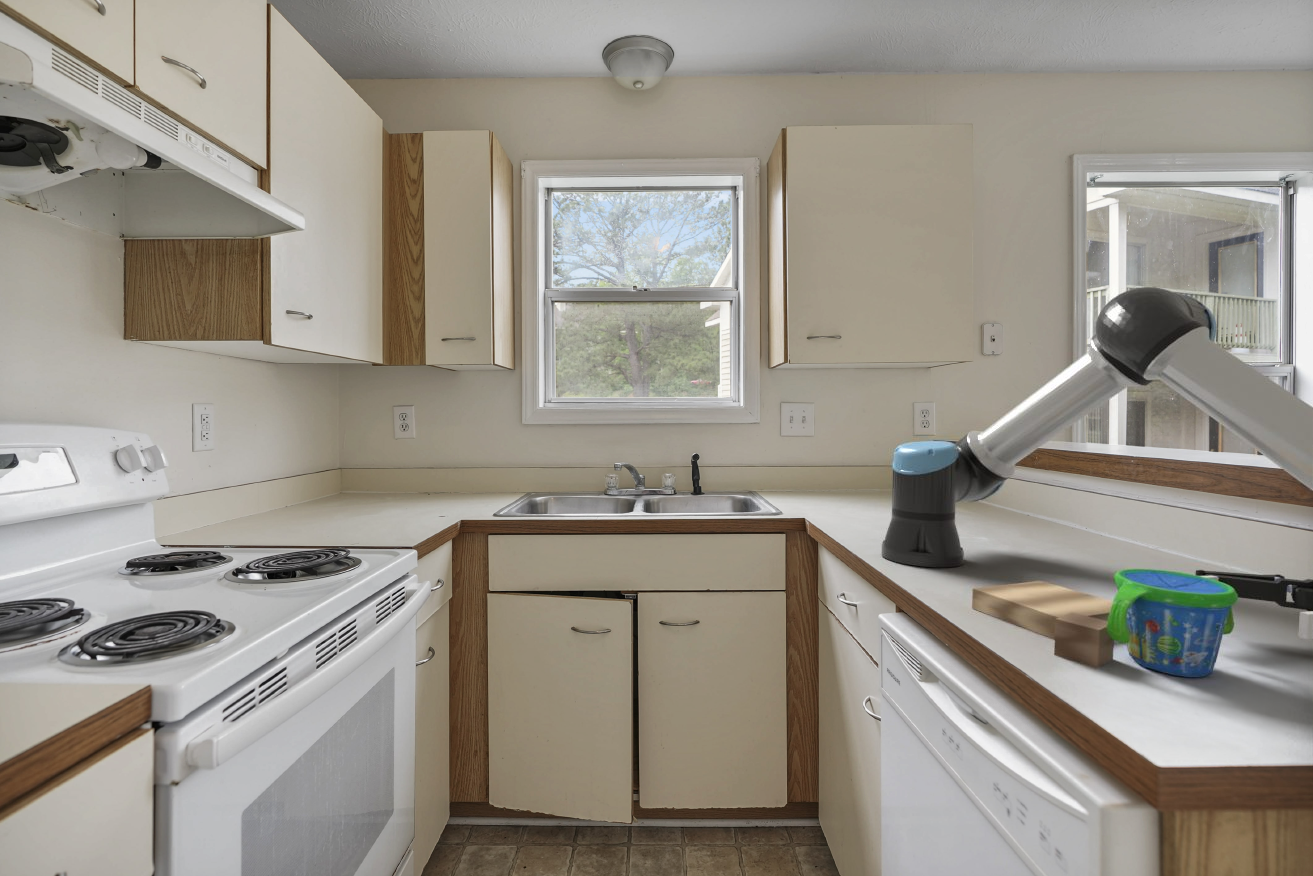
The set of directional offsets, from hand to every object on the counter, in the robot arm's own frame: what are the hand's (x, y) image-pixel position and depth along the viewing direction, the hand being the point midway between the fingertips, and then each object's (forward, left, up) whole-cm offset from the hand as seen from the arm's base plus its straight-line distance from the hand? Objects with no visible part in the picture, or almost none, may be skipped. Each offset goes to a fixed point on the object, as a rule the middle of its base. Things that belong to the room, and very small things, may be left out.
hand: (1231, 605), depth 71 cm
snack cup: (-2, -8, -7) cm, 11 cm away
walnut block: (-7, -15, -7) cm, 18 cm away
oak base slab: (-18, -6, -7) cm, 20 cm away
